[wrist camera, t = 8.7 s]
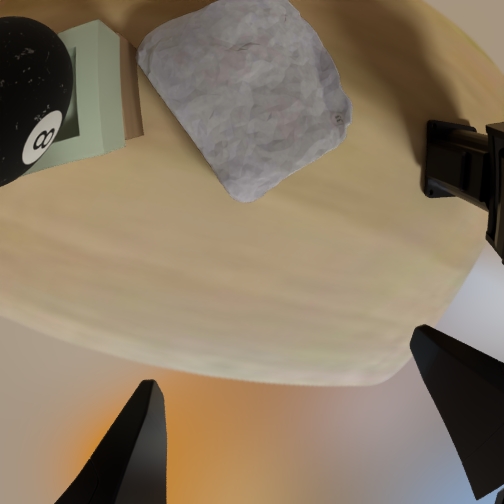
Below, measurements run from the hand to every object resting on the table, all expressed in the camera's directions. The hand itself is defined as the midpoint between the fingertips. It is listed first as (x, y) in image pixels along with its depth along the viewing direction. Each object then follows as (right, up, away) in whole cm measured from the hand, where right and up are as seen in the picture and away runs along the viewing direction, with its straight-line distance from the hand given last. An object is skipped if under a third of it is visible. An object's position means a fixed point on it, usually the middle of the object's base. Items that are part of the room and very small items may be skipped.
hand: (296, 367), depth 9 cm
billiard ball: (-10, +10, 0) cm, 15 cm away
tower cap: (-11, +11, +2) cm, 16 cm away
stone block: (-1, +14, +8) cm, 16 cm away
